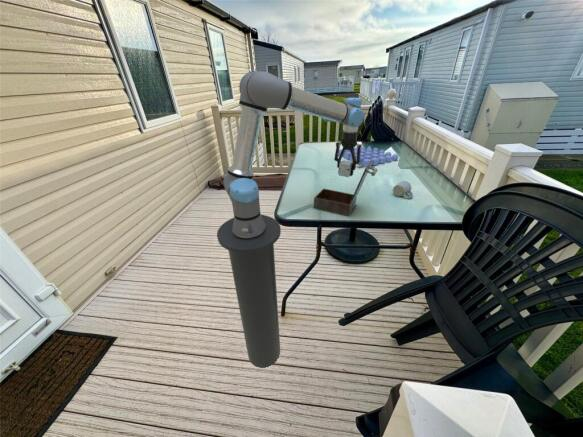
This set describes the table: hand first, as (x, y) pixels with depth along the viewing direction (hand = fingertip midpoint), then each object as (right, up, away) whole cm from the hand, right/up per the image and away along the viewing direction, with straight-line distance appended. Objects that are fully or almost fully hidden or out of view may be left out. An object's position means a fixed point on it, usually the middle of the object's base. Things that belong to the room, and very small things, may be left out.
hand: (345, 174), depth 137 cm
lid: (+3, -7, -17) cm, 19 cm away
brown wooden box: (-7, -18, -4) cm, 20 cm away
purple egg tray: (+34, +26, +68) cm, 80 cm away
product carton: (0, 0, 0) cm, 1 cm away
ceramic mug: (+35, -11, +7) cm, 38 cm away
